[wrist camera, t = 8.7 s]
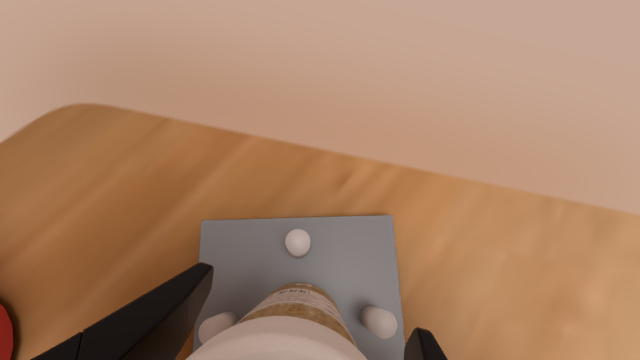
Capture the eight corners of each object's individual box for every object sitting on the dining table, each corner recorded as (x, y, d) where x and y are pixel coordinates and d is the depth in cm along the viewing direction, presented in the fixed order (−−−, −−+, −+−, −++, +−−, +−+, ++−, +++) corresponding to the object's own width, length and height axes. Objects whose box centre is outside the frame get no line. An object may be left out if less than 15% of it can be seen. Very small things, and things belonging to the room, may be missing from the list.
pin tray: (192, 441, 17) (159, 489, 13) (206, 223, 20) (182, 209, 16) (408, 427, 17) (437, 469, 13) (388, 218, 20) (407, 203, 17)
